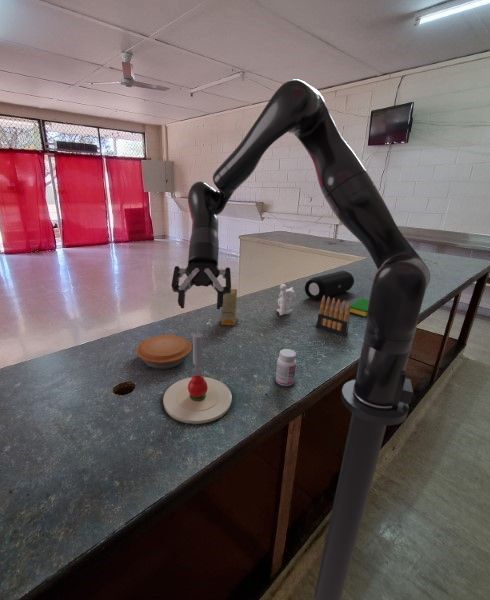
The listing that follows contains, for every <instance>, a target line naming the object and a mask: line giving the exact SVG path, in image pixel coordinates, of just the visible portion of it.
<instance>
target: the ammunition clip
mask: <svg viewBox="0 0 490 600" xmlns="http://www.w3.org/2000/svg"><path fill="white" fill-rule="evenodd" d="M350 305H351V301H348V302H347V305H346V301H345V299H344V300H343V301H342V303H341V299H340V298H338V299H337V301H336V298H335V297H333V298H332V300H331V296H329V297H327V299H326V297H325V295H324V296H323V298H322V299H321V302H320V306H319V312H318V315H317V319H316V325H315V327H317V328H319V329H322V330H326V331H329V332H332V333H336V334H338V335H341V336H347V335H348V332H349V323H350V316H351V312H350Z"/></svg>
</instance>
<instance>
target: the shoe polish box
mask: <svg viewBox="0 0 490 600" xmlns="http://www.w3.org/2000/svg"><path fill="white" fill-rule="evenodd" d="M237 302H238V289H235V288H231V293H229V294H228V293H226V294H224V295H223V306H222V307H221V315H220V317H221V318H220V319H221V320H220V321H221V322H220V325H221V326H232V327H235V326H236V322H237V304H238V303H237Z"/></svg>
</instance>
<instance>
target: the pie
mask: <svg viewBox="0 0 490 600" xmlns="http://www.w3.org/2000/svg"><path fill="white" fill-rule="evenodd" d="M191 351H193V344H192V343H191V342H190V341H189V340H188V339H187V338H184V337H181V336H179V335H174V334H159V335H154V336H151V337H149V338H145V339H144V340H143V341H141V342H139V344H138V345H137V347H136V355H137V356H138V358H140V359H141V360H142V361H143V362H144V363H145V365H147V366H148V367H150V368H152V369H156V370H157V369H158V370H166V369H167V370H169V369H173V368H176V367H177V366H180V365H181V364H182V363H184V361H185V359H186V358H187V357H188V355H189V354H190V353H191Z"/></svg>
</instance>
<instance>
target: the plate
mask: <svg viewBox="0 0 490 600" xmlns="http://www.w3.org/2000/svg"><path fill="white" fill-rule="evenodd" d="M192 377H193V376H191V377H187V378H183V379H180V380H178V381H176V382H174V383H173V384H171V385H170V386H169V387H168V388H167V389H166V390H165V392H164V394H163V397H162V398H163V399H162V403H163V409H164V410H165V412H166V413H167V415H169V416H170V417H171V418H172V419H174V420H175V421H178V422H181V423H186V424H191V425H192V424H193V425H197V424H198V425H200V424H207V423H211V422H214V421H216V420H218V419H220V418H222V417H223V416H224V415H226V414H227V413H228V411H229V410H230V408H231V406H232V401H233V395H232V391H231V390H230V388H229V387H228V385H226V384H225V383H224V382H222V381H220V380H218V379H216V378H212V377H207V376H203V378H204V380H205V381H206V382H207V385H208V389H207V392H206V398H205V399H204V400H202V401H193V400H191V399H190V393H189V391H188V384H189V382H190V381H191V379H192Z"/></svg>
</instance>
